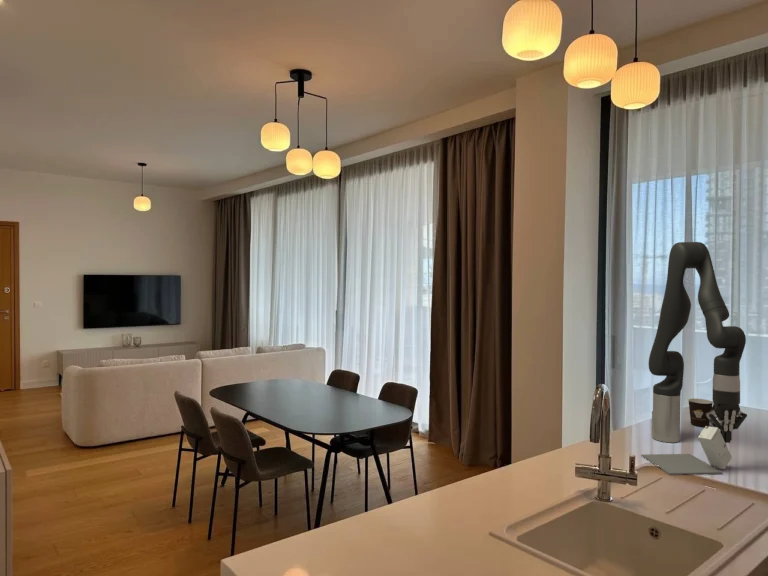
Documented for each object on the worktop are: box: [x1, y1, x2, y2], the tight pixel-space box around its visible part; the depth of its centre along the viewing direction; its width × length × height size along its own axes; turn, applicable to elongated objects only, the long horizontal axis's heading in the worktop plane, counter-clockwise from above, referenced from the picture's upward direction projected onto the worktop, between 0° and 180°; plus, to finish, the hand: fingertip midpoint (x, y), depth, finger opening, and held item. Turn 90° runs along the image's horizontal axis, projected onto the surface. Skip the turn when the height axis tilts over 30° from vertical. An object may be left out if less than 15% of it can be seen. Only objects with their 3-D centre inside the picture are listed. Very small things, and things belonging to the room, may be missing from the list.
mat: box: [640, 453, 723, 476], centre depth 178 cm, size 17×17×1 cm
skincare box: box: [697, 425, 733, 470], centre depth 174 cm, size 6×4×12 cm
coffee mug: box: [688, 397, 717, 428], centre depth 221 cm, size 12×9×10 cm
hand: (725, 442), depth 175 cm, fingers closed
